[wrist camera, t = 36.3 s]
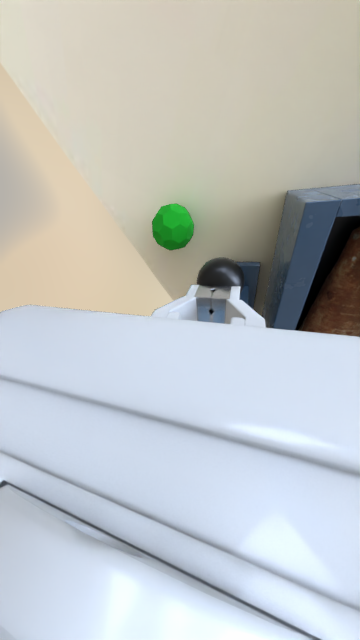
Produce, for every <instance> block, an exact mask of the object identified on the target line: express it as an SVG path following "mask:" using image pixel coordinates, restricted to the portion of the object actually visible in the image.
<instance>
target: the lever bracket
mask: <svg viewBox="0 0 360 640" xmlns="http://www.w3.org/2000/svg"><path fill="white" fill-rule="evenodd" d="M206 263H207V262H206ZM206 263H205V264H206ZM236 263H237V264H238V265H239V266H240V267H241V269H242V271H243V273H244V287H243V290H242V292H241V293H240V299H239V300H242V301H244V302H245V303H246V304H247V305H248V306H250V307H251V308H252V309H253V306H254V300H255V294H256V288H257V281H258V275H259V269H260V262H236Z"/></svg>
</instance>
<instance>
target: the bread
mask: <svg viewBox="0 0 360 640" xmlns="http://www.w3.org/2000/svg"><path fill="white" fill-rule="evenodd" d="M298 331H305V332H316V333H326V334H336V335H347V336H357V337H359V336H360V226H359V227H358V228H356V229H354V230H353V231H352V233H351V235H350V237H349V239H348V241H347V243H346V245H345V247H344V249H343V251H342V253H341V254H340V256H339V258H338V260H337V262H336V263H335V265H334V267H333V268H332V270H331V272H330V273H329V274H328V276H327V278H326V279H325V281H324V283H323V285H322V287H321V289H320V291H319V293H318V295H317V297H316V299H315V301H314V302H313V304H312V306H311V307H310V309H309V311H308V314H307V315H306V318H305V319H304V321H303V323H302V324H301V326H300V328H299V329H298Z"/></svg>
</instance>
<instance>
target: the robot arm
mask: <svg viewBox="0 0 360 640" xmlns="http://www.w3.org/2000/svg"><path fill="white" fill-rule="evenodd" d="M239 299H240V286H232V287H231V286H208V285H191V286H190V288H189V290H188V292H187V294H186V296H185V297H184V296H183V297H181V298H179V299H177V300H175V301H172V302H170V303H168V304H166V305H164V306H162V307H160V308H158V309H156V310H155V311H154V312H153V313H152V315H151V316H139V315H130V314H119V313H109V312H98V311H87V310H77V309H68V308H57V307H46V306H38V305H25V306H20V307H16V308H12V309H9V310H5V311H2V312H0V640H360V337H357V336H347V335H336V334H326V333H316V332H305V331H295V330H285V329H274V328H266V325H265V319H264V318H263V317H262V316H260V315H259V314H258V313H257V312H256V311H254V310H253V309H252V308H251V307H250V306H248V305H247V304H246V303H245V302H244V301H242V300H239Z"/></svg>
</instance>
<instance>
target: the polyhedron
mask: <svg viewBox="0 0 360 640" xmlns="http://www.w3.org/2000/svg"><path fill="white" fill-rule="evenodd" d="M152 229H153V237H154V238H155V240H156V242H157V243H158V244H159V245H160V246H162V247H164V248H166V249H168V250H175V249H180V248H183V247H185V246H186V245H187V243H188V242H189V241H190V239H191V238H192V236H193V230H194V224H193V221H192V219H191V217H190V215H189V213H188V211H187V210H186V209H185V208H184V207H182V206H180V205H178V204H169V205H166V206H162V207H161V208H160V210H159V211H158V213H157V214H156V216H155V218H154V219H153V221H152Z"/></svg>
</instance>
